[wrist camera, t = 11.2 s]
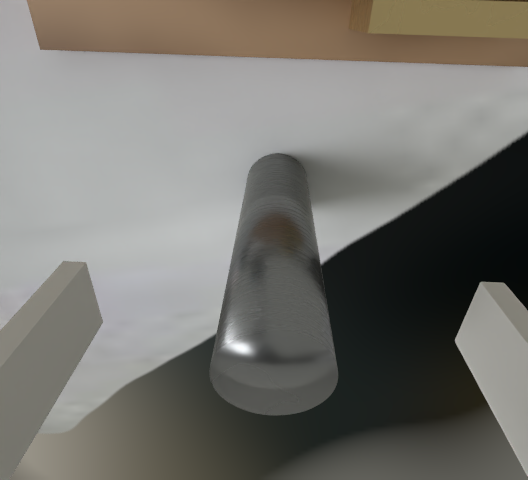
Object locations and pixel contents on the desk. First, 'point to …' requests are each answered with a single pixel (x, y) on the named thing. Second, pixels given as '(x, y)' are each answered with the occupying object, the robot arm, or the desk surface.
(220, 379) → the pin
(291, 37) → the board
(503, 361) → the robot arm
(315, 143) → the desk surface
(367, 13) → the fixed leaf
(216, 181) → the desk surface
